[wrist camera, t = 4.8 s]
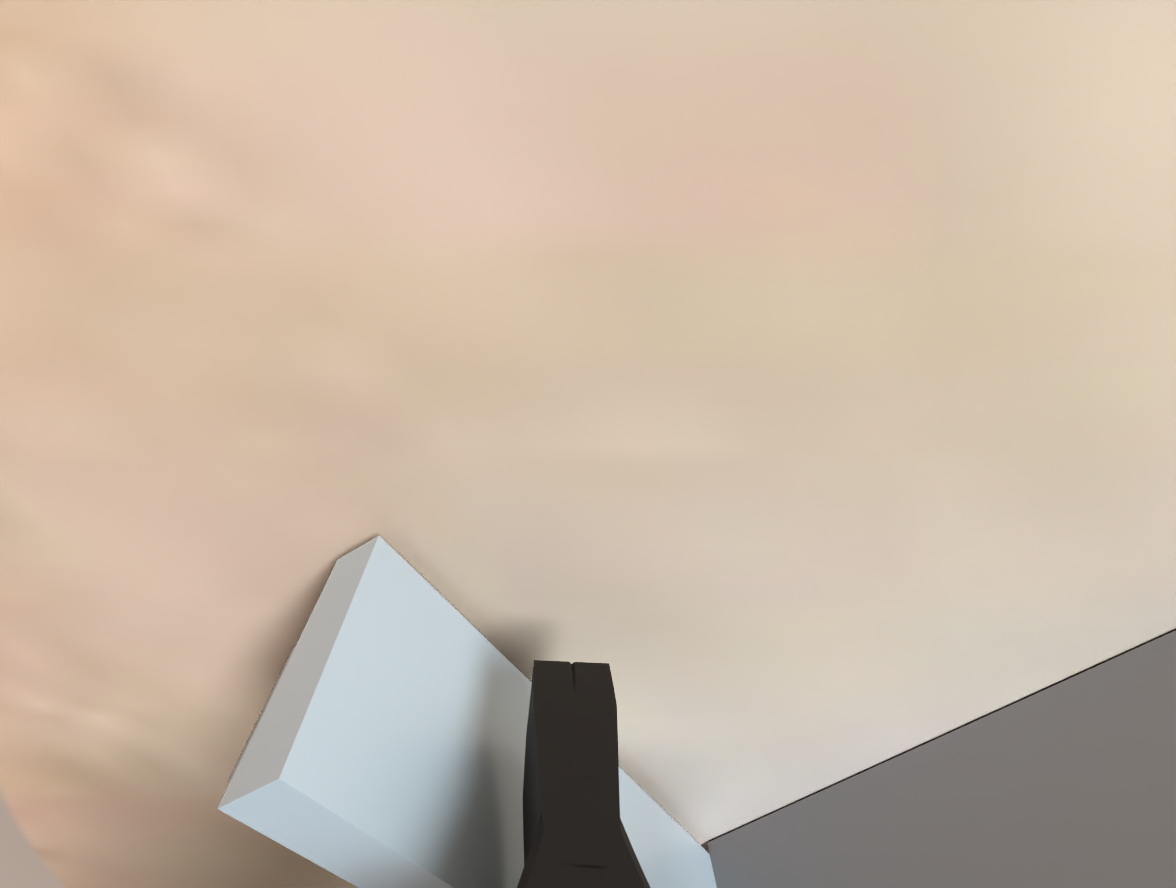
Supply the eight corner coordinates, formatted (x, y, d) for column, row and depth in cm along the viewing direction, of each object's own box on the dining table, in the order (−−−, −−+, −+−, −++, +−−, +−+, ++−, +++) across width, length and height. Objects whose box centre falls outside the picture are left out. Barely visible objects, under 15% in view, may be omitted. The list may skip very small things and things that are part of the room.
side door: (290, 586, 11) (147, 842, 7) (379, 535, 11) (278, 779, 7) (643, 878, 17) (671, 1102, 13) (709, 854, 17) (758, 1077, 13)
